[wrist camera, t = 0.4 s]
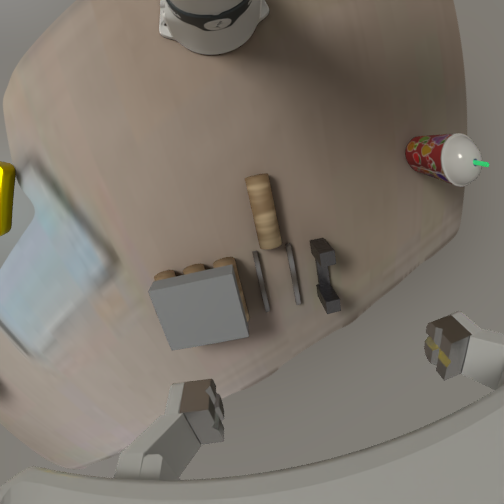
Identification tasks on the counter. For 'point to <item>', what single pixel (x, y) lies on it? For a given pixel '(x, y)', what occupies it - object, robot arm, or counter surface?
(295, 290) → the roller bed
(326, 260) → the posts
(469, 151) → the smoothie
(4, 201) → the element tile
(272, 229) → the roller
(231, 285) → the slab
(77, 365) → the counter surface
